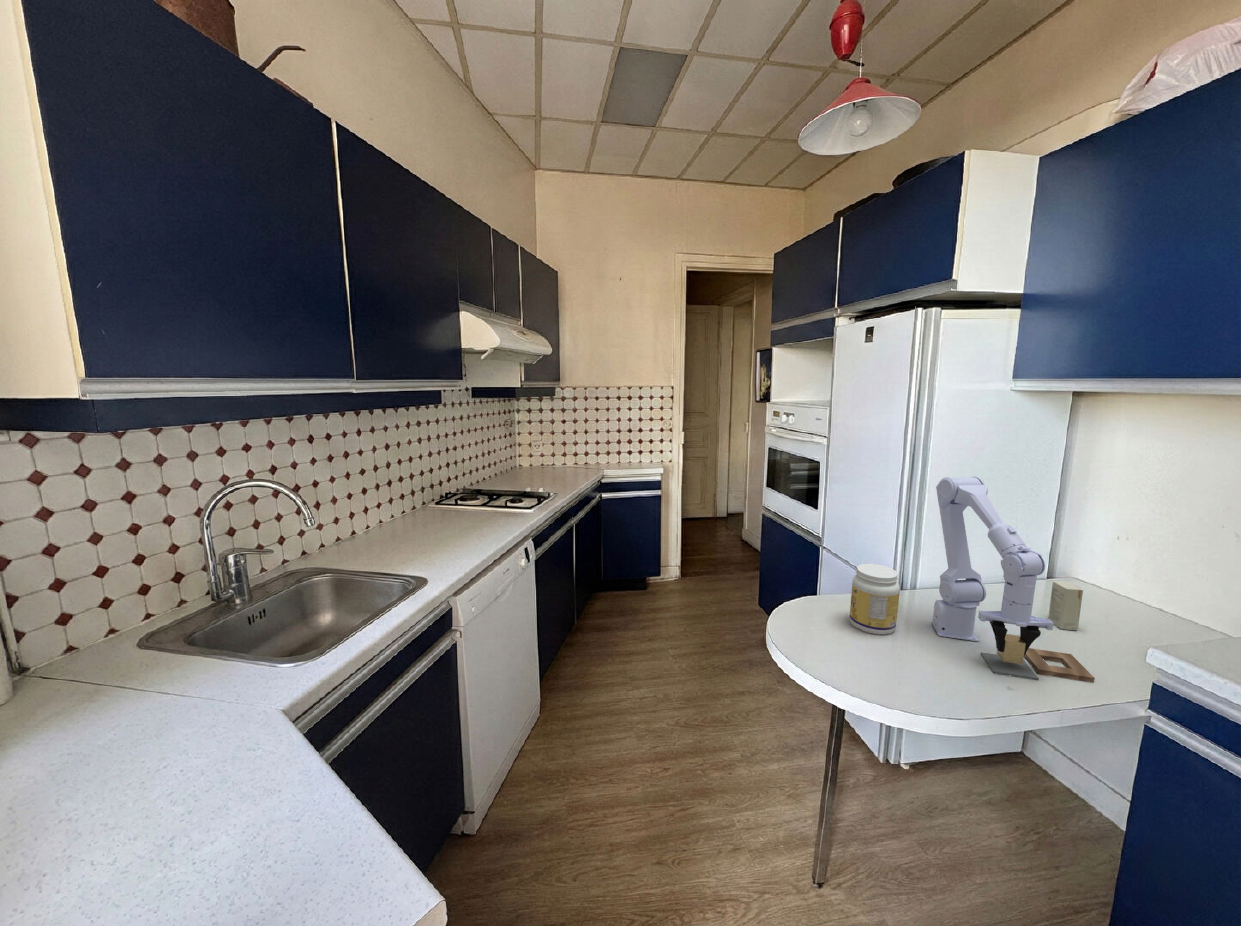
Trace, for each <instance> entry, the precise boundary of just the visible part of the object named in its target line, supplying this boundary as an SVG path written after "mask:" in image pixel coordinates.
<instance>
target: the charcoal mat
mask: <svg viewBox="0 0 1241 926" xmlns="http://www.w3.org/2000/svg"><path fill="white" fill-rule="evenodd" d="M980 655H981V656H982V658H983V660H984V661H985V663H986V664H987V666H988V667H989V670H991V672H992V673H993V674H997V675H1003V676H1009V675H1011V676H1010V677H1015V678H1023V679H1029V680H1035V681H1039V677H1038V676H1037V675H1036V673H1035V672H1034V671H1033V669H1032V668H1031V667H1030V665H1028V663H1027V662H1026V661H1025V659H1023V664H1016V663H1010V662H1003V661H1002V659H1001V658H1000V657H999V655H998V654H997V653H996V654H995V653H990V652H984V651H983V652H982V651H981V652H980Z"/></svg>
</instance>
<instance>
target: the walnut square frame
mask: <svg viewBox="0 0 1241 926" xmlns="http://www.w3.org/2000/svg"><path fill="white" fill-rule="evenodd" d="M1024 658H1025V660H1026V661H1027V662H1028V663H1029V664H1030V665H1032V666H1031V667H1032V668H1033V669H1034V671H1035V670H1036V671H1037V672H1036V671H1035V672H1036V673H1037V674H1038V675H1044V676H1049V675H1050V677H1056V678H1062V679H1063V678H1064V679H1069V680H1073V681H1074V680H1075V681H1082V682H1088V683H1095V678H1096V677H1094V675H1092V674H1091V673H1090V671H1089V670H1088V669H1086V667H1085V666H1084V665H1083V664H1082V663H1081V662H1079V660H1078V659H1077V658H1076V657H1074V656H1073V654H1072V653H1067V652H1066V653H1065V652H1061V651H1059V652H1058V651H1051V650H1045V649H1038V648H1031V647H1029V648H1028V650H1027V652H1026V654H1025V655H1024ZM1043 659H1044V660H1043ZM1048 660H1049V662H1055V663H1061V664H1063V666H1057V665H1051V664H1048V663H1047V662H1046V661H1048Z"/></svg>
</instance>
